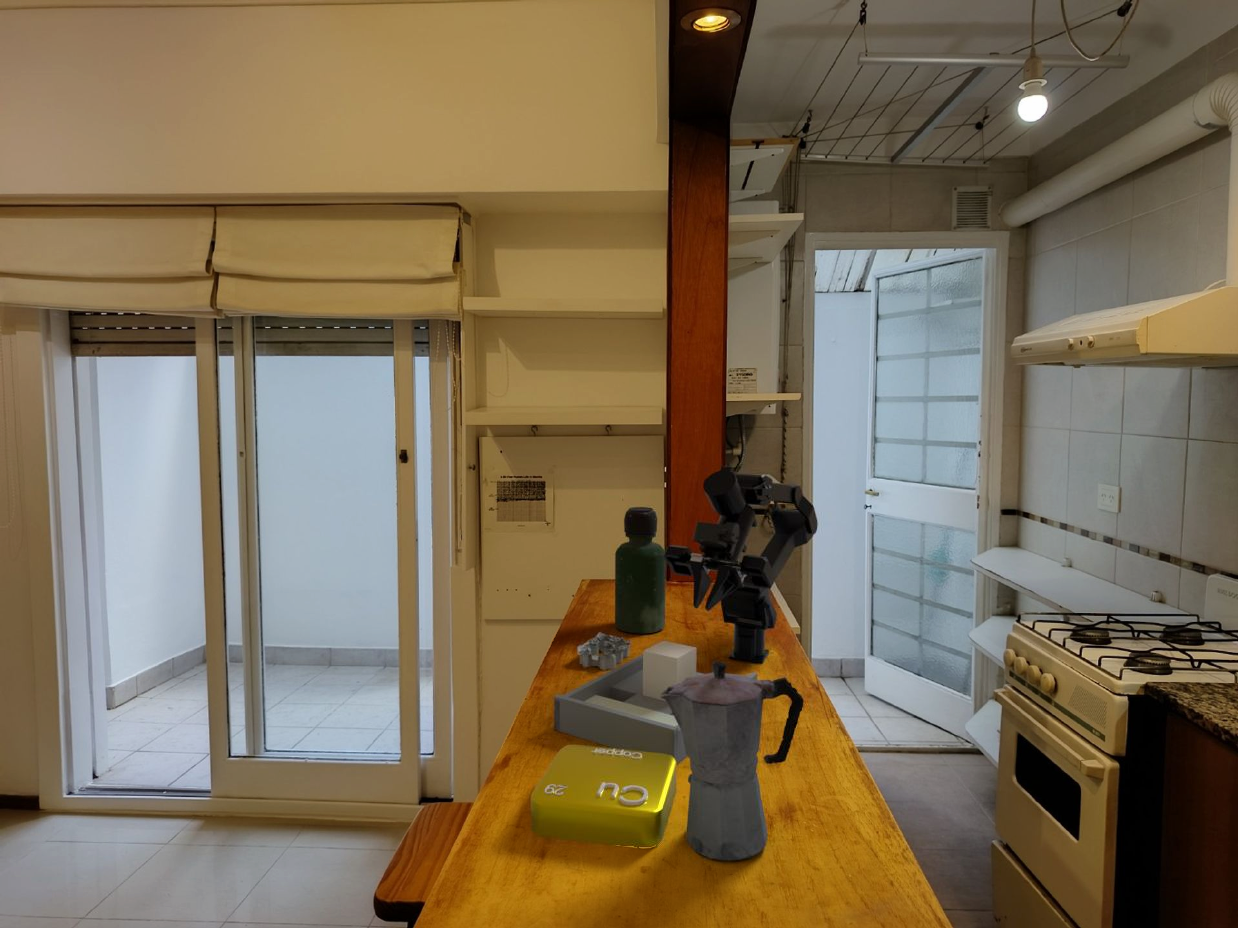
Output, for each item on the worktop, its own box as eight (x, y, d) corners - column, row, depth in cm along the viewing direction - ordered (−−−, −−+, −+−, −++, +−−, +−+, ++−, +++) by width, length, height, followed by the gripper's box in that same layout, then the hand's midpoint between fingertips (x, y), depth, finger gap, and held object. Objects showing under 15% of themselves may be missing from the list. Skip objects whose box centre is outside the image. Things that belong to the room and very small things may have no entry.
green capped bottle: (674, 629, 162) (676, 510, 159) (634, 638, 156) (634, 514, 153) (645, 617, 170) (646, 503, 168) (605, 625, 164) (605, 507, 162)
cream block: (662, 683, 125) (663, 640, 124) (695, 691, 122) (696, 647, 121) (642, 695, 120) (643, 650, 119) (676, 703, 117) (677, 658, 116)
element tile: (678, 786, 98) (679, 749, 98) (659, 855, 83) (659, 812, 83) (563, 773, 101) (563, 738, 101) (525, 837, 87) (525, 796, 86)
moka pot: (654, 817, 90) (655, 648, 88) (784, 812, 91) (789, 645, 89) (666, 867, 80) (667, 679, 79) (811, 861, 82) (817, 675, 80)
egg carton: (610, 673, 137) (610, 651, 136) (572, 667, 140) (572, 644, 140) (635, 655, 146) (635, 633, 146) (599, 649, 150) (599, 628, 149)
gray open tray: (649, 675, 135) (650, 647, 135) (756, 701, 124) (757, 670, 124) (554, 729, 113) (554, 696, 113) (674, 766, 102) (674, 729, 102)
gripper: (669, 499, 136) (634, 573, 128) (769, 508, 126) (738, 589, 118) (690, 536, 143) (658, 609, 135) (786, 548, 133) (758, 627, 125)
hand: (700, 608), depth 128 cm, fingers closed
